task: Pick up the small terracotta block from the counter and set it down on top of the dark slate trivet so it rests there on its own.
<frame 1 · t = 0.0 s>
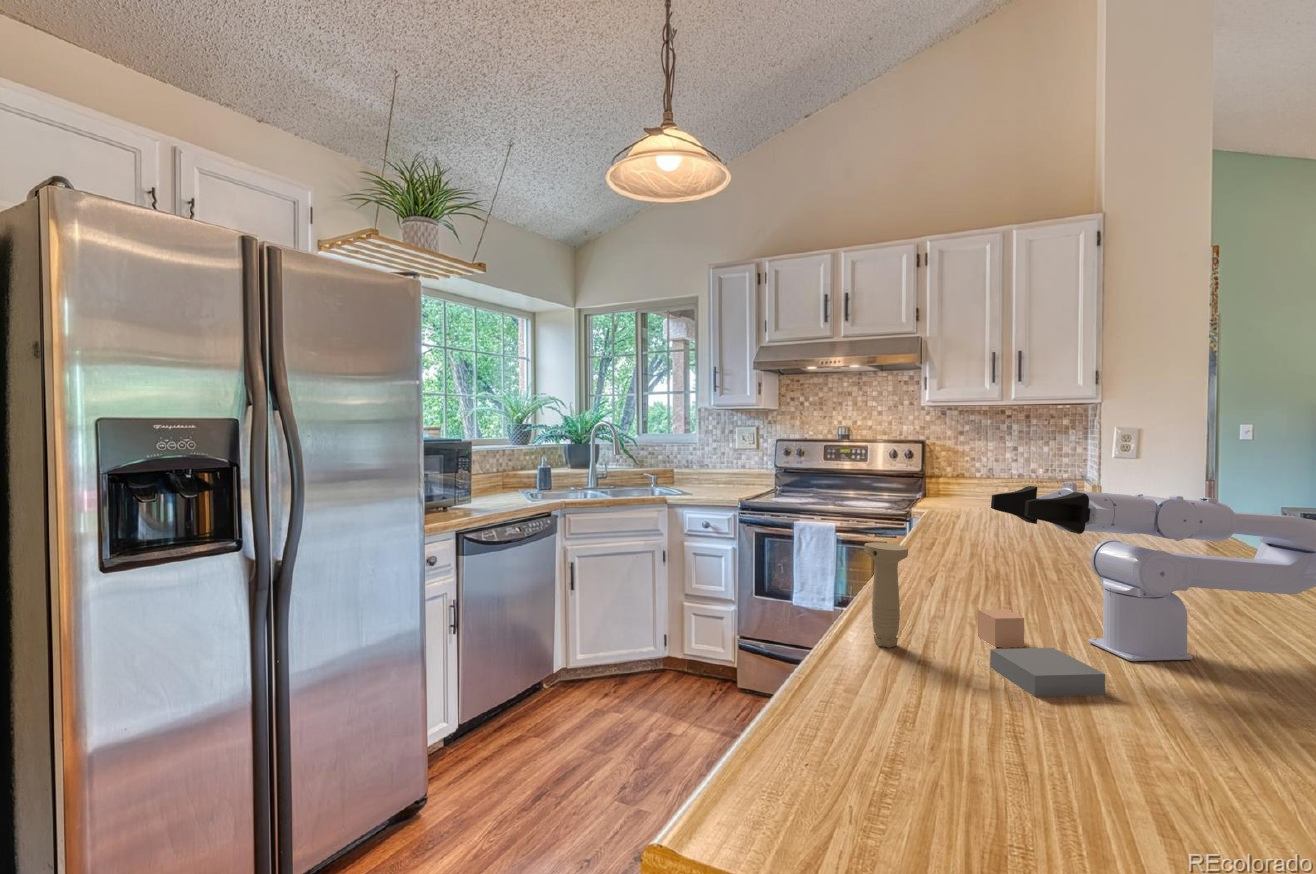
hand: (1008, 505, 88), 22 cm above the table, tool horizontal, fingers open, 7 cm apart
slate trivet: (1044, 683, 79), on the table
terracotta block: (1000, 643, 93), on the table
handle: (885, 646, 92), on the table
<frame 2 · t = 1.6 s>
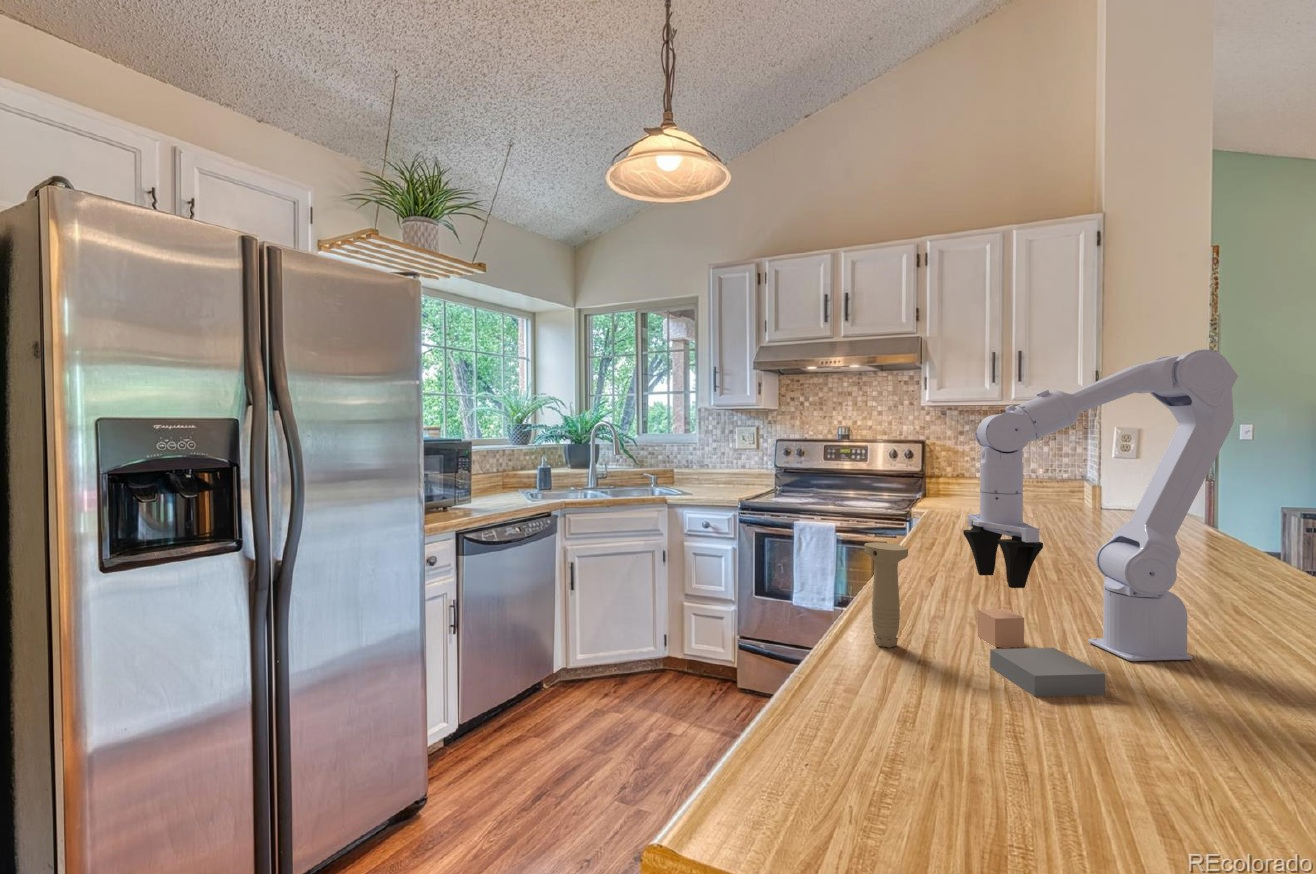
hand: (1000, 581, 93), 9 cm above the table, tool pointing down, fingers open, 7 cm apart
nothing on the table moved.
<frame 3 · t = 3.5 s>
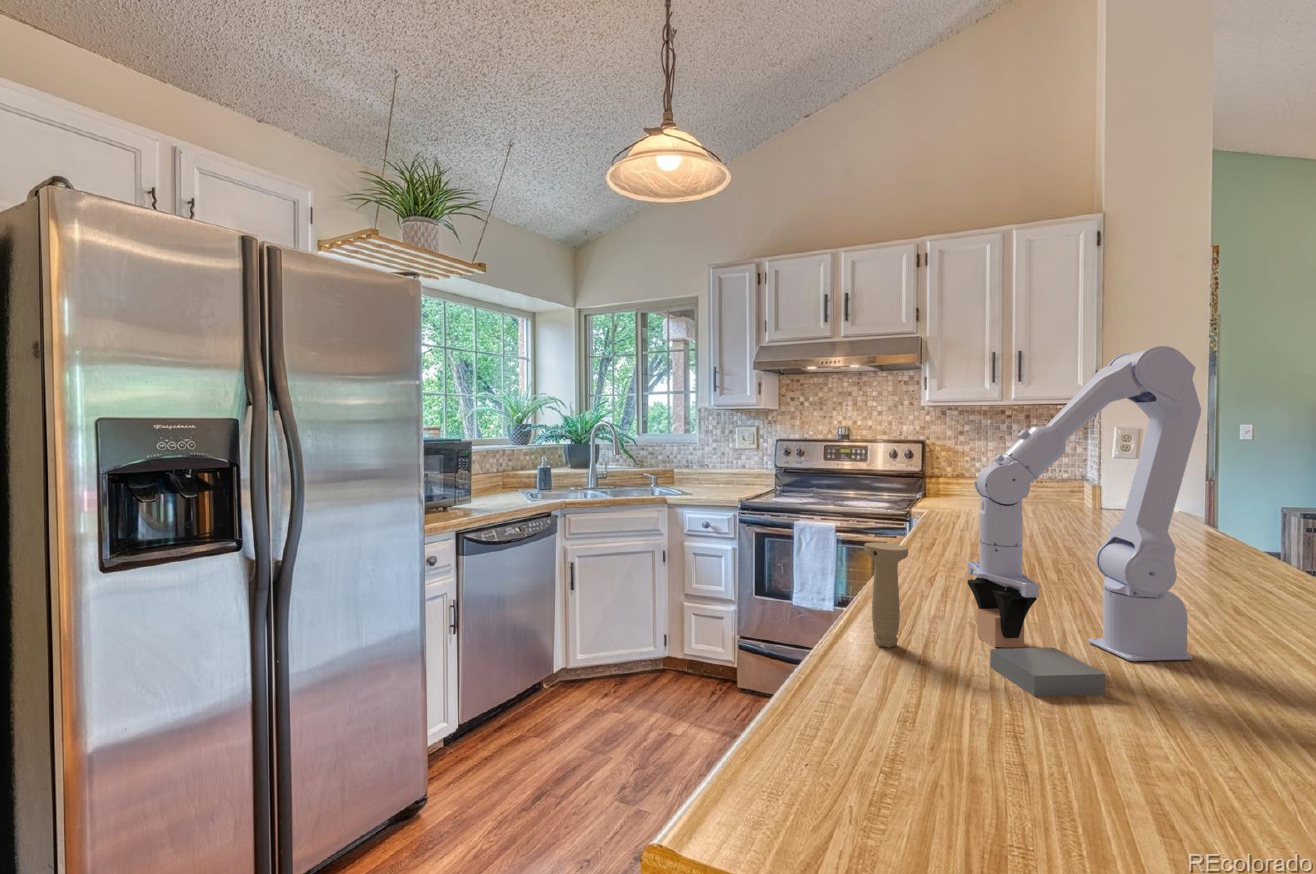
hand: (1000, 631, 93), 2 cm above the table, tool pointing down, fingers closed on terracotta block, 4 cm apart
terracotta block: (1000, 642, 93), on the table, touching gripper
everything else where it was.
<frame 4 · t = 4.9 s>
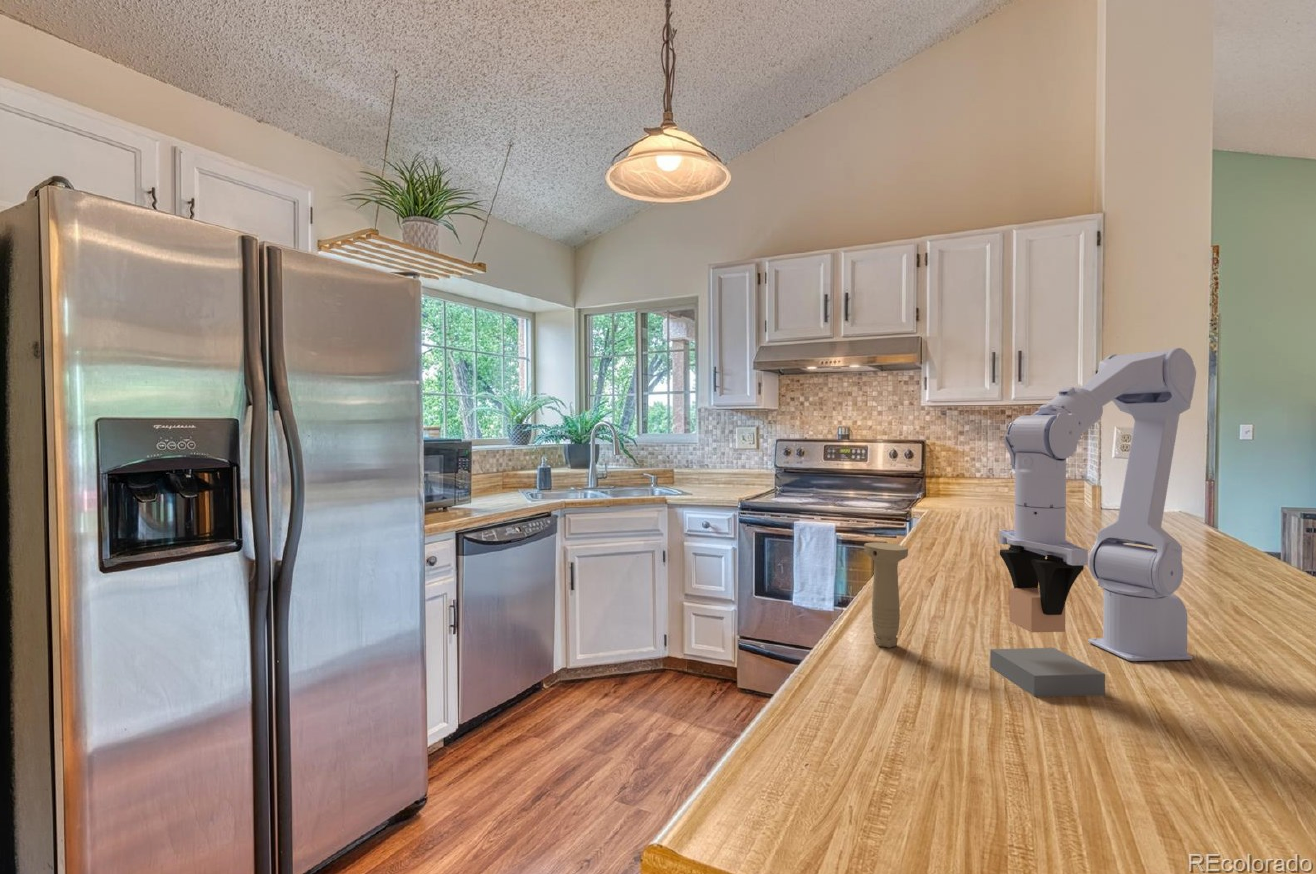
hand: (1039, 608, 80), 9 cm above the table, tool pointing down, fingers closed on terracotta block, 4 cm apart
terracotta block: (1036, 626, 80), point 7 cm above the table, touching gripper
everything else where it was.
when the fingers open (6 cm above the table, at t = 6.5 s): terracotta block stays where it is, point 2 cm above the table.
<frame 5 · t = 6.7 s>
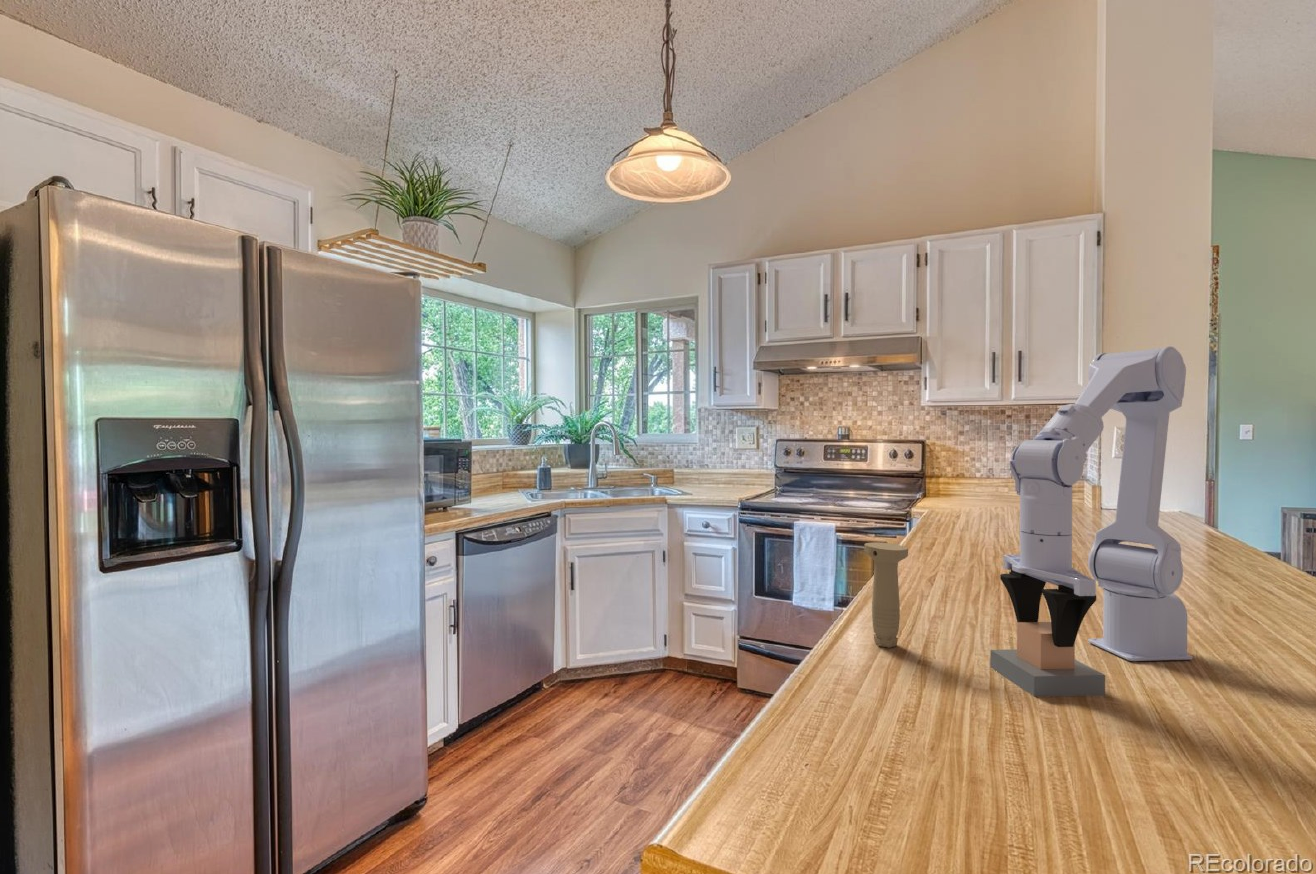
hand: (1044, 636, 79), 6 cm above the table, tool pointing down, fingers open, 6 cm apart
terracotta block: (1044, 662, 79), point 2 cm above the table
everything else where it was.
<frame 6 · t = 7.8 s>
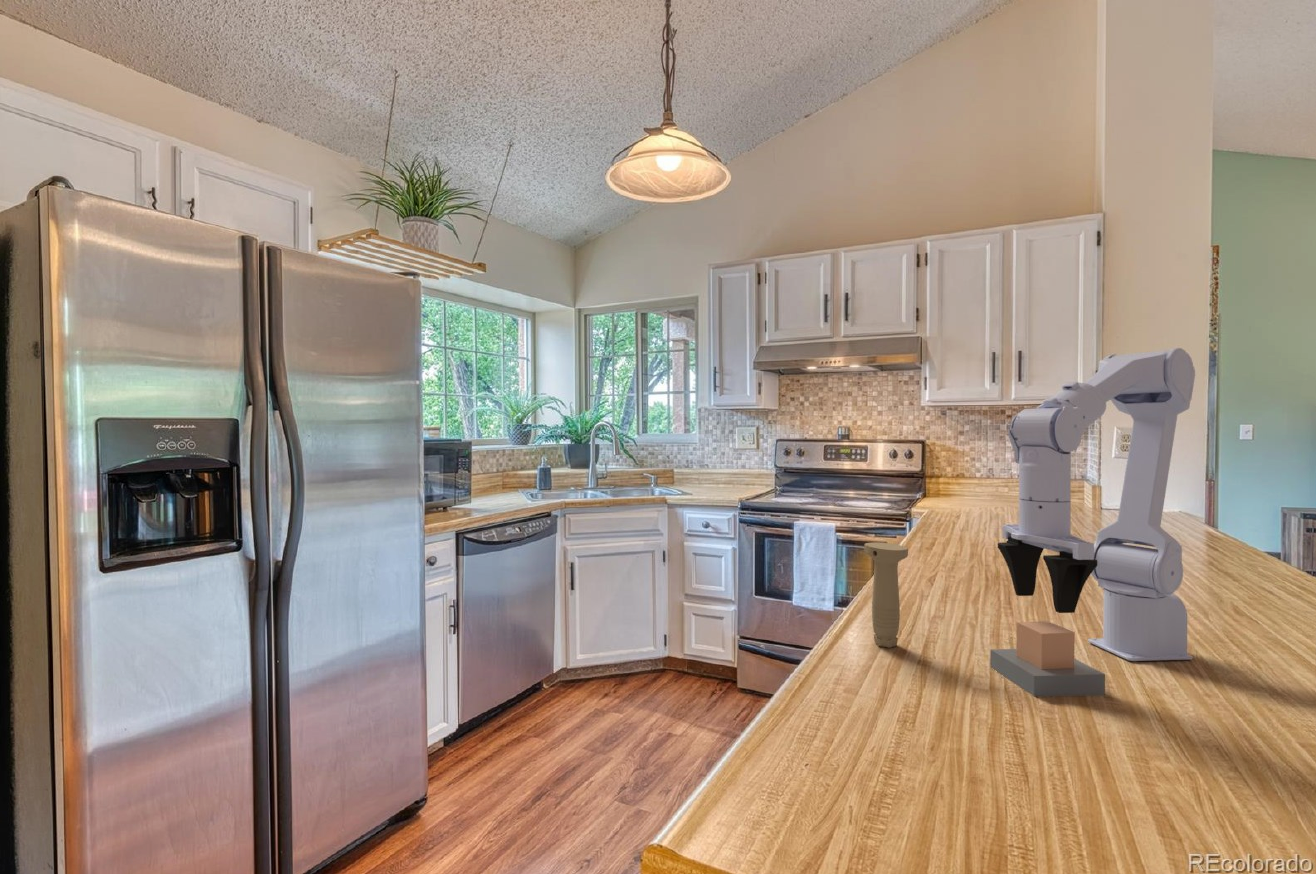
hand: (1043, 603, 80), 10 cm above the table, tool pointing down, fingers open, 7 cm apart
slate trivet: (1044, 684, 79), on the table, touching terracotta block
terracotta block: (1044, 661, 79), point 2 cm above the table, touching slate trivet
everything else where it was.
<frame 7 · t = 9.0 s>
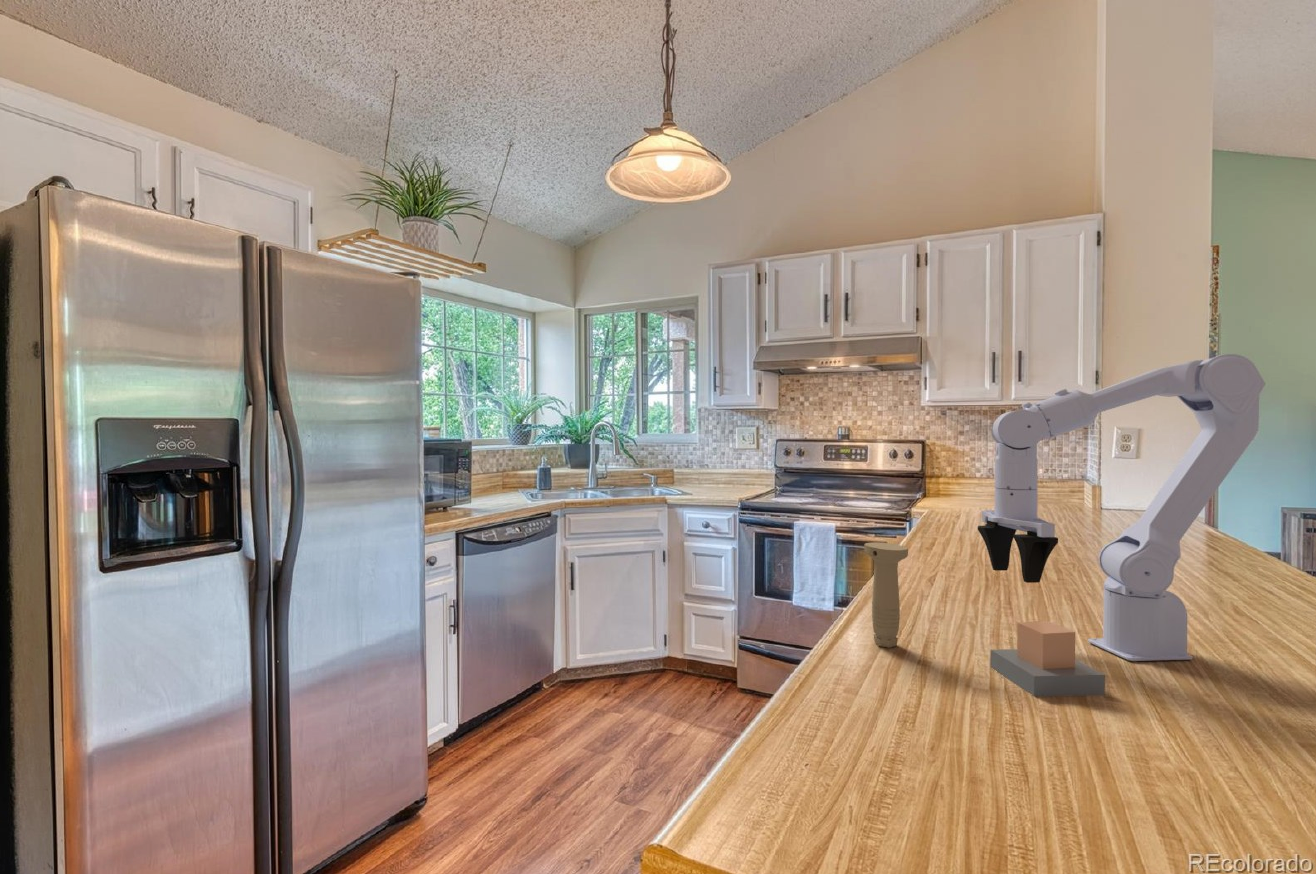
hand: (1015, 575, 94), 10 cm above the table, tool pointing down, fingers open, 7 cm apart
nothing on the table moved.
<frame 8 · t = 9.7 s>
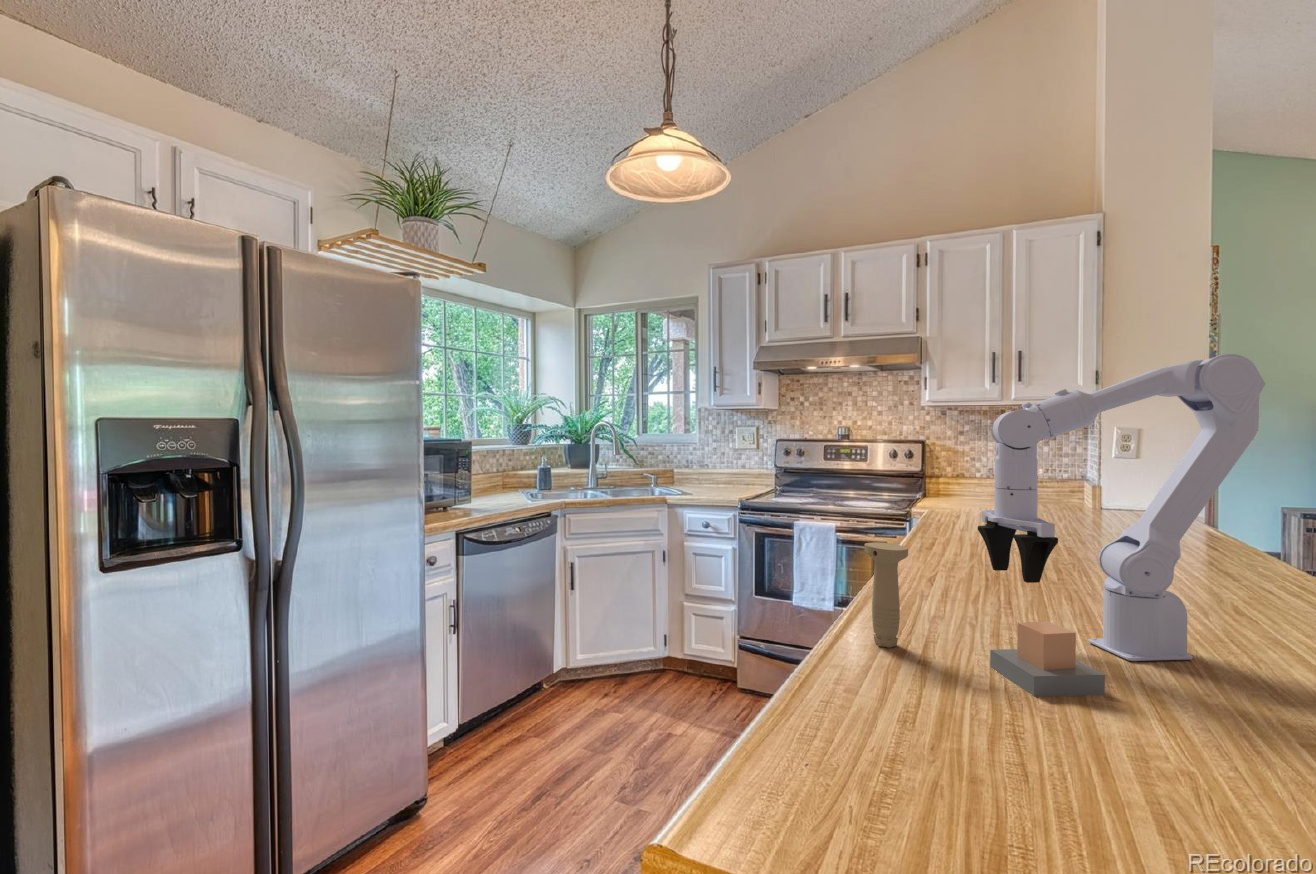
hand: (1015, 575, 94), 10 cm above the table, tool pointing down, fingers open, 7 cm apart
nothing on the table moved.
at the end: terracotta block 0.2 cm off-centre on the slate trivet, point 3.0 cm above the slate trivet's base; terracotta block tilted 0°; the gripper is holding nothing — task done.
